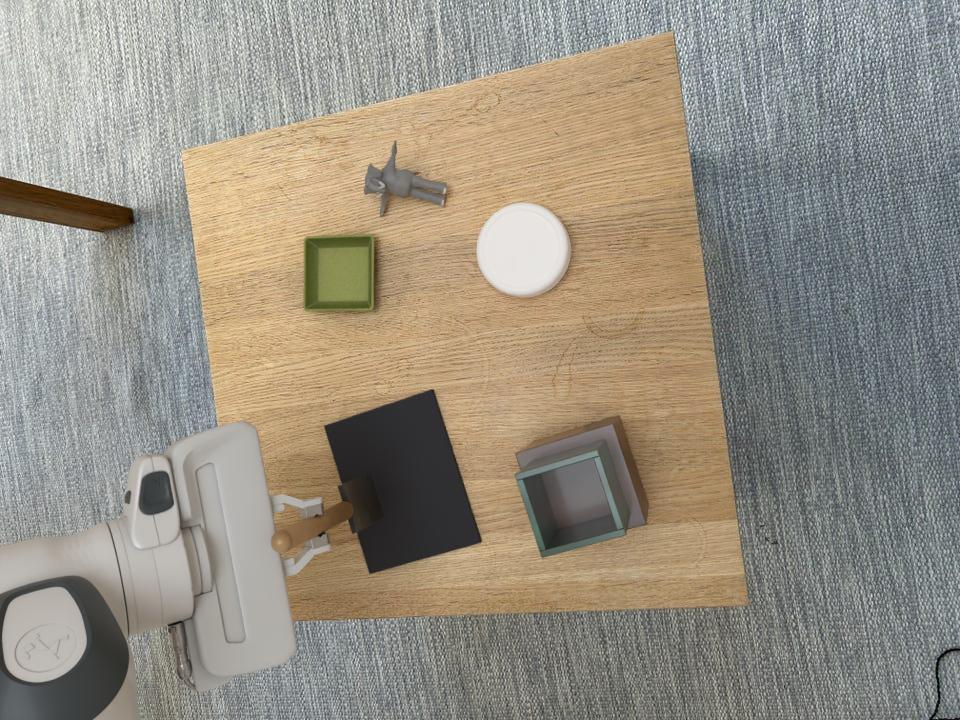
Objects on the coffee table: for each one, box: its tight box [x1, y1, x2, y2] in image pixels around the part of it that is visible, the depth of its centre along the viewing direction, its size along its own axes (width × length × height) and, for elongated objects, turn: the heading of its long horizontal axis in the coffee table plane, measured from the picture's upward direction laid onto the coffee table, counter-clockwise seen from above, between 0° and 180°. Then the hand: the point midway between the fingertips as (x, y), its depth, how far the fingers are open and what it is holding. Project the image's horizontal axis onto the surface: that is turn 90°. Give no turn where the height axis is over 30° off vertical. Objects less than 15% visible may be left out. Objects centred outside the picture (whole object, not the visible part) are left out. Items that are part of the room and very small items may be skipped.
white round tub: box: [475, 201, 572, 299], centre depth 83 cm, size 10×10×4 cm
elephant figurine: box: [363, 140, 448, 218], centre depth 85 cm, size 10×6×9 cm
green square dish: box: [302, 233, 375, 312], centre depth 89 cm, size 9×9×2 cm
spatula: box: [271, 473, 384, 554], centre depth 70 cm, size 5×2×21 cm, turn 19°
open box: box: [514, 414, 650, 559], centre depth 75 cm, size 10×10×18 cm
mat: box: [323, 388, 483, 575], centre depth 88 cm, size 18×14×1 cm
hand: (324, 522), depth 67 cm, fingers closed on spatula, 2 cm apart
